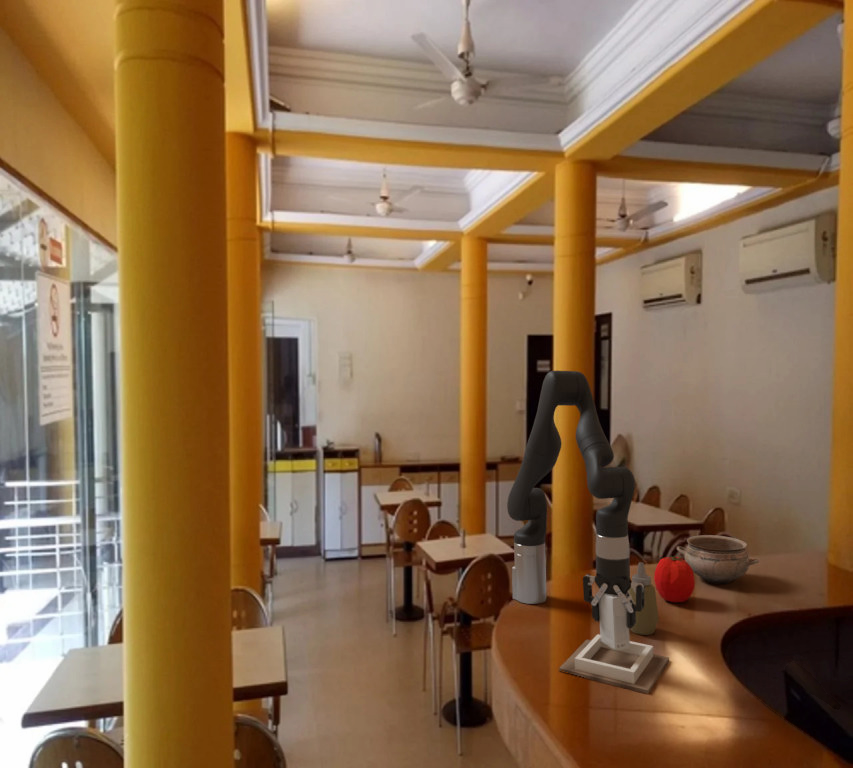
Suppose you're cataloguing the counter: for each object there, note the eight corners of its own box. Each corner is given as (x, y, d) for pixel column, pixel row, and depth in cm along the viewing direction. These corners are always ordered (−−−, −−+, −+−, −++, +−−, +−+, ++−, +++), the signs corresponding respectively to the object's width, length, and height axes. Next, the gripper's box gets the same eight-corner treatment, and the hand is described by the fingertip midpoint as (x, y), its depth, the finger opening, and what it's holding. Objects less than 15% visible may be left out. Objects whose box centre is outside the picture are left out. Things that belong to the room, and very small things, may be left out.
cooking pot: (666, 580, 208) (665, 542, 208) (687, 565, 222) (687, 530, 222) (750, 597, 191) (749, 556, 191) (767, 580, 205) (767, 542, 205)
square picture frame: (574, 669, 148) (574, 658, 148) (597, 644, 161) (597, 634, 161) (634, 683, 140) (633, 672, 140) (653, 656, 153) (652, 645, 153)
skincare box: (630, 648, 148) (629, 595, 148) (614, 651, 147) (613, 598, 146) (614, 637, 154) (613, 587, 154) (598, 641, 153) (597, 590, 152)
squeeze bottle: (658, 626, 172) (657, 559, 172) (659, 639, 164) (657, 568, 164) (626, 623, 175) (625, 557, 174) (625, 635, 167) (624, 566, 167)
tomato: (672, 591, 198) (671, 548, 198) (705, 604, 187) (704, 558, 187) (643, 598, 193) (643, 554, 193) (676, 611, 182) (675, 565, 182)
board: (559, 671, 149) (559, 668, 149) (586, 642, 164) (586, 639, 164) (648, 694, 137) (648, 690, 137) (669, 660, 152) (668, 657, 152)
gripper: (576, 553, 151) (578, 623, 151) (639, 562, 143) (640, 636, 143) (588, 545, 157) (589, 612, 157) (648, 553, 149) (649, 624, 149)
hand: (613, 623), depth 150 cm, fingers closed on skincare box, 7 cm apart
